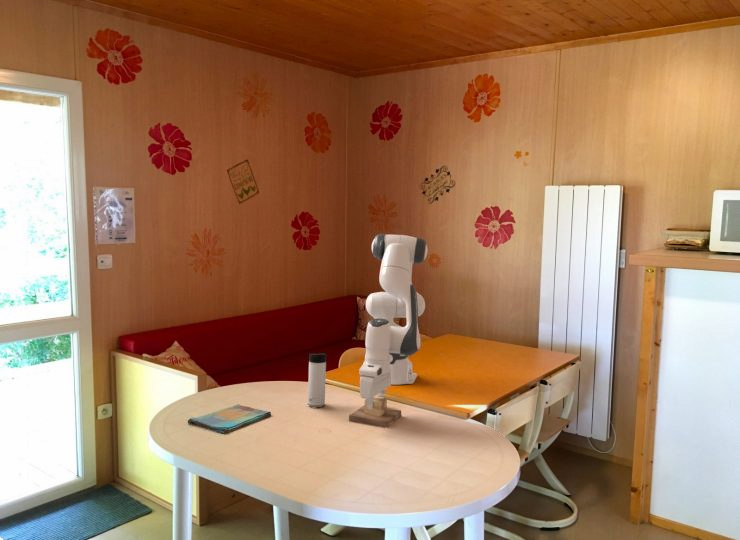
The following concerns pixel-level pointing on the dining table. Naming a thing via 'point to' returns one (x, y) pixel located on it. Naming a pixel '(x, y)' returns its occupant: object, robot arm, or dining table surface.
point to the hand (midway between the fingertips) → (375, 404)
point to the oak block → (377, 406)
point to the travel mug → (317, 380)
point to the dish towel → (229, 418)
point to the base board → (375, 417)
